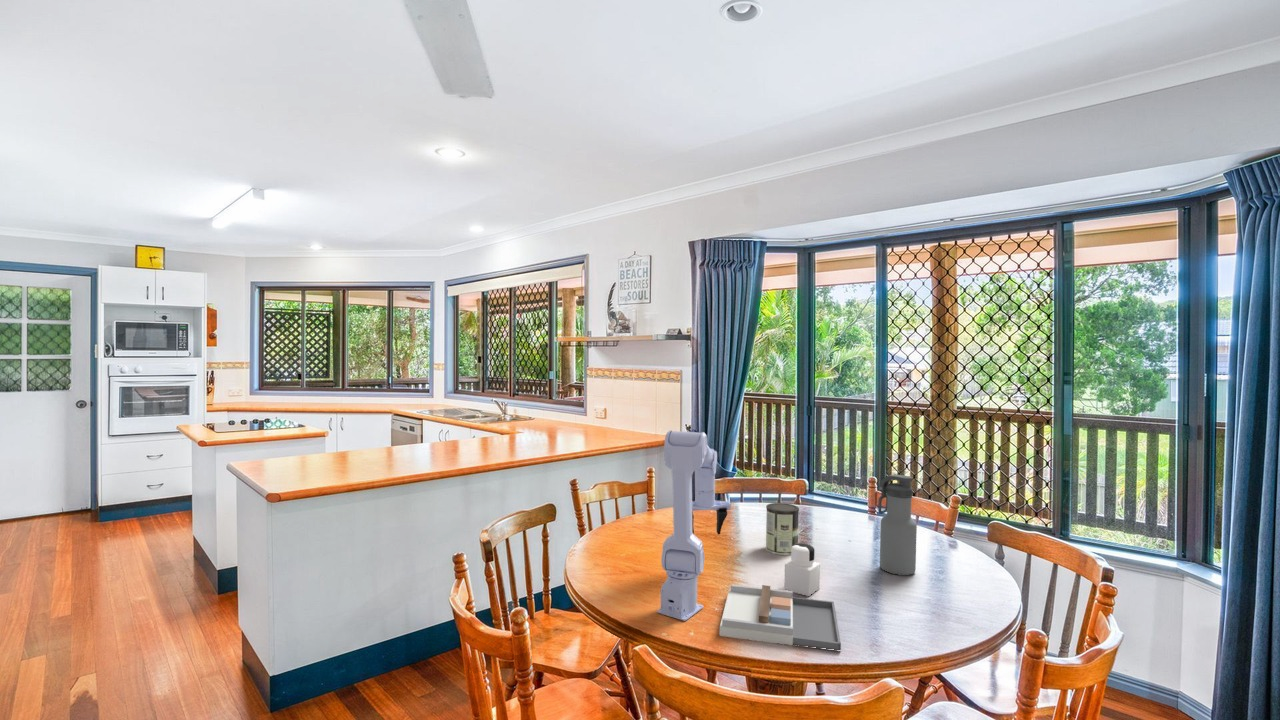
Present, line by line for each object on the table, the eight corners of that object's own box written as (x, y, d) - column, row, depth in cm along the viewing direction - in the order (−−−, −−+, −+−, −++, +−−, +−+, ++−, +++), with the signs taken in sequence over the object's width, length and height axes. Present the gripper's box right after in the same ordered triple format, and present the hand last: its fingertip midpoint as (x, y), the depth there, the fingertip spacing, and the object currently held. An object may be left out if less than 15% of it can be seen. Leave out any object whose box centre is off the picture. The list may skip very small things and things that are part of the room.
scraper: (758, 626, 135) (758, 615, 135) (762, 594, 152) (762, 585, 152) (767, 627, 134) (767, 616, 134) (770, 595, 152) (770, 585, 152)
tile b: (770, 623, 137) (770, 616, 137) (770, 614, 142) (771, 608, 142) (790, 625, 136) (790, 619, 136) (790, 616, 140) (790, 610, 140)
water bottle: (872, 569, 177) (875, 475, 177) (886, 561, 184) (888, 470, 184) (907, 579, 170) (910, 481, 170) (920, 570, 177) (923, 476, 177)
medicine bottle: (795, 582, 167) (796, 539, 166) (819, 589, 162) (821, 545, 162) (783, 589, 161) (784, 545, 161) (809, 597, 157) (810, 551, 156)
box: (792, 645, 131) (792, 637, 131) (792, 604, 152) (792, 597, 152) (840, 652, 128) (840, 643, 128) (833, 608, 150) (833, 601, 150)
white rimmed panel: (719, 635, 135) (719, 620, 135) (729, 596, 156) (729, 583, 156) (792, 645, 131) (793, 629, 131) (792, 604, 152) (792, 590, 152)
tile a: (771, 610, 144) (771, 603, 144) (771, 602, 148) (771, 596, 148) (790, 612, 143) (790, 606, 143) (790, 604, 147) (790, 598, 147)
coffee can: (785, 543, 200) (786, 501, 199) (804, 553, 190) (805, 509, 190) (759, 546, 196) (760, 504, 196) (777, 557, 186) (778, 512, 186)
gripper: (727, 483, 177) (727, 526, 179) (678, 484, 176) (679, 528, 178) (732, 491, 170) (732, 537, 172) (681, 493, 169) (681, 539, 171)
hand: (705, 533), depth 174 cm, fingers open, 7 cm apart
